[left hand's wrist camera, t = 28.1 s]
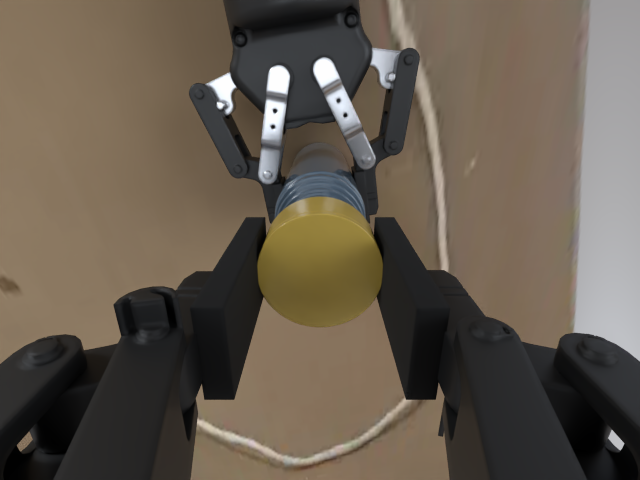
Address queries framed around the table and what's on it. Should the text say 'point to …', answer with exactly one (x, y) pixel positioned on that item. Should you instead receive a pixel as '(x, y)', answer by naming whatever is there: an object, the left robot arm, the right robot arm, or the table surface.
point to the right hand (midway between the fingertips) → (326, 224)
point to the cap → (320, 263)
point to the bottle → (320, 178)
